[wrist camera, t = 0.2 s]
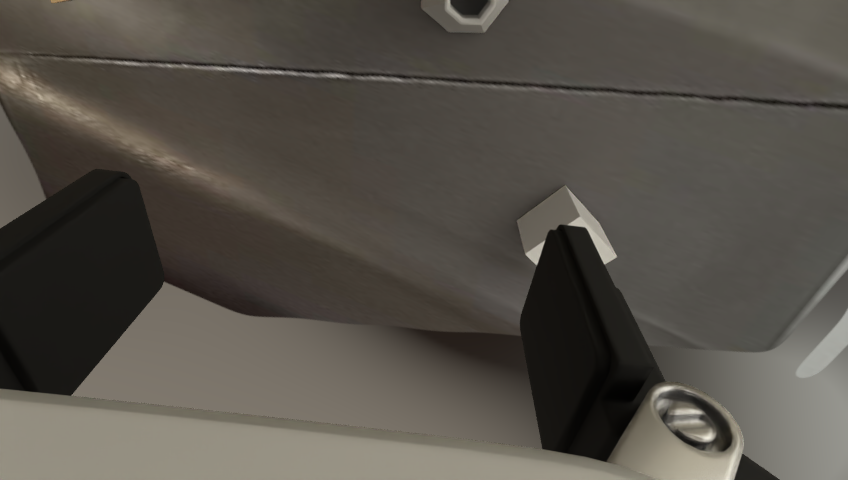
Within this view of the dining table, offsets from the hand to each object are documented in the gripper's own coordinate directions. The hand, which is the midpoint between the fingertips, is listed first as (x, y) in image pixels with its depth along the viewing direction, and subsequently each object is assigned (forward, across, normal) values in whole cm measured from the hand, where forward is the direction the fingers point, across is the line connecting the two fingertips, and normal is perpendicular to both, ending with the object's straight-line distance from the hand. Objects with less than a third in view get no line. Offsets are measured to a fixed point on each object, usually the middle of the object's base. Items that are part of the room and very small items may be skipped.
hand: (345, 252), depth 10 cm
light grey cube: (+31, -16, +16) cm, 39 cm away
